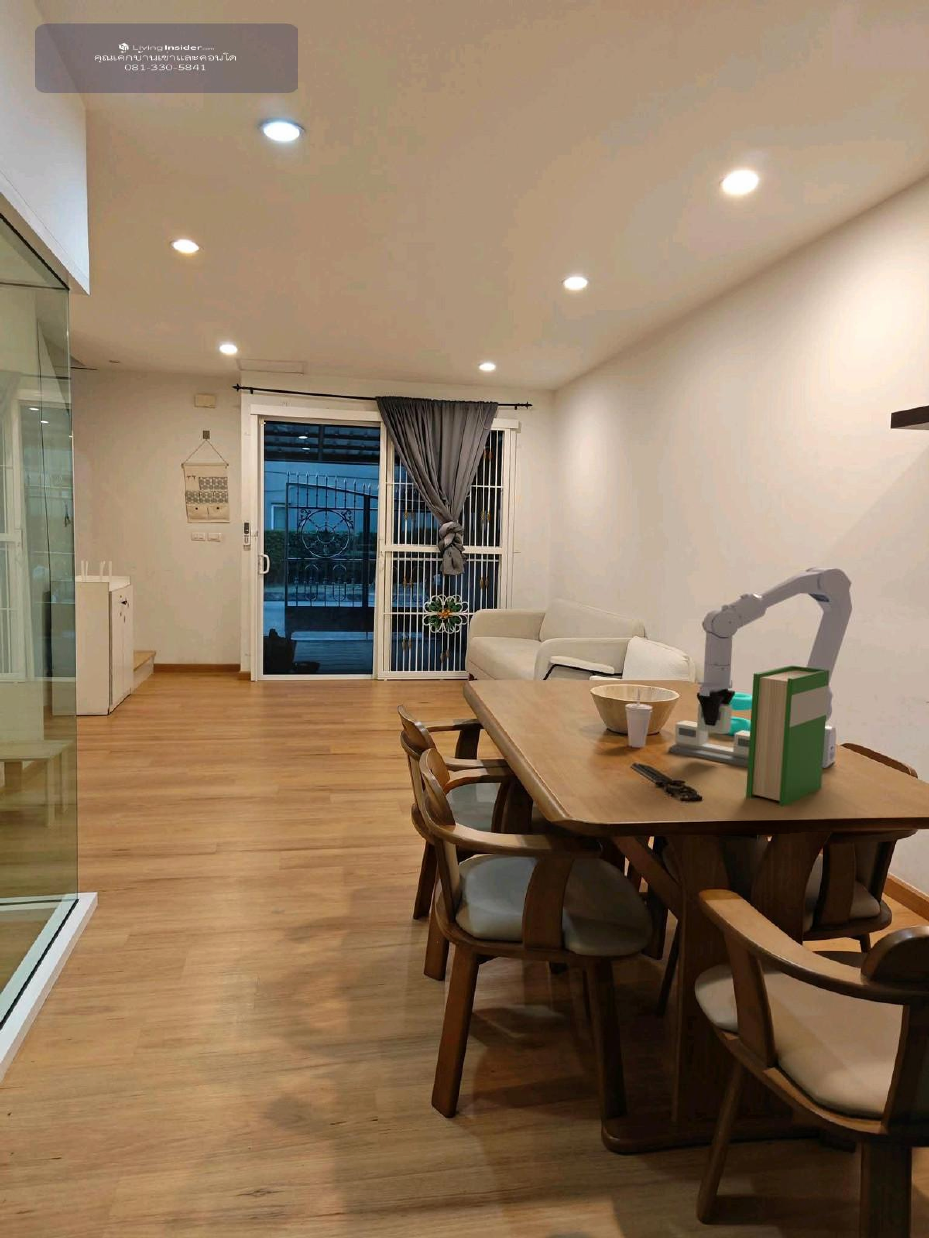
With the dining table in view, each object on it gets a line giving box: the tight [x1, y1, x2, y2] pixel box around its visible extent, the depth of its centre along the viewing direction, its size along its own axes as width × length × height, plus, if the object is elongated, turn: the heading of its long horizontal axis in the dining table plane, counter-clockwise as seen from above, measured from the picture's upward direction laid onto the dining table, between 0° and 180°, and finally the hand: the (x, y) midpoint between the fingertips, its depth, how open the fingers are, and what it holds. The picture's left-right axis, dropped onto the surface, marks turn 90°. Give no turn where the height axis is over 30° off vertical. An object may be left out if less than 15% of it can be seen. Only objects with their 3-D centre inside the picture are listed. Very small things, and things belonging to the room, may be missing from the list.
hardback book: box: [745, 665, 830, 807], centre depth 149 cm, size 18×7×24 cm, turn 134°
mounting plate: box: [668, 719, 750, 768], centre depth 176 cm, size 20×11×6 cm, turn 50°
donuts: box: [724, 692, 752, 736], centre depth 200 cm, size 10×10×10 cm
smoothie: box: [624, 687, 653, 748], centre depth 182 cm, size 6×6×14 cm
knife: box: [630, 762, 703, 803], centre depth 155 cm, size 25×6×1 cm, turn 8°
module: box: [697, 702, 733, 735], centre depth 172 cm, size 6×5×6 cm
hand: (714, 723), depth 172 cm, fingers closed on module, 5 cm apart
